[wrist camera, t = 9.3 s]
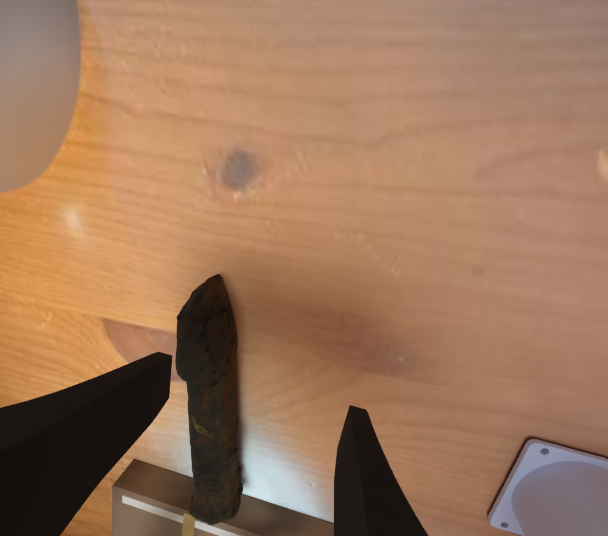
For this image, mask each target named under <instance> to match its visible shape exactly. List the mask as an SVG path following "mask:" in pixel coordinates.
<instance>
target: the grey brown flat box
mask: <svg viewBox="0 0 608 536" xmlns="http://www.w3.org/2000/svg"><path fill="white" fill-rule="evenodd" d="M193 494H194V484H193V478H190V477H187V476H184V475H181V474H178V473H175V472H172V471H169V470H166V469H163V468H159V467H156V466H153V465H150V464H147V463H144V462H141V461H138V460H135V459H134V460H133V461H132V462H131V464H130V465H129V466H128V467H127V468H126V470H125V471H124V472H123V473H122V475H121V476H120V477H119V478H118V479H117V481H116V482H115V483H114V484H113V486H112V536H334V524H332V523H329V522H326V521H323V520H320V519H317V518H314V517H311V516H308V515H305V514H302V513H298V512H295V511H292V510H289V509H286V508H283V507H280V506H277V505H274V504H271V503H268V502H264V501H261V500H258V499H255V498H252V497H249V496H246V495H243V494H241V497H240V498H241V504H240V508H239V510H238V512H237V514H236V516H235V518H233V519H229V520H226V521H223V522H220V523H218V524H215V525H208V524H207V523H206V522H202V521H200V520H198V519H196V518H194V517H192V515H191V514H190V513H189V511H190V504H191V498H192V496H193Z"/></svg>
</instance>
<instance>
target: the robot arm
mask: <svg viewBox="0 0 608 536" xmlns="http://www.w3.org/2000/svg"><path fill="white" fill-rule="evenodd" d="M171 366H172V355H168V354H165V353H161V352H156V353H154V354H151V355H148V356H146V357H144V358H141V359H139V360H136V361H134V362H132V363H129V364H127V365H125V366H122V367H120V368H117V369H115V370H113V371H110V372H108V373H105V374H103V375H101V376H98V377H95V378H93V379H90V380H87V381H85V382H82V383H79V384H77V385H74V386H71V387H69V388H66V389H63V390H60V391H57V392H54V393H51V394H48V395H45V396H42V397H38V398H35V399H32V400H28V401H25V402H21V403H18V404H14V405H10V406H6V407H2V408H0V536H60V535H61V534H62V532H63V531H64V529H65V528H66V527H67V525H68V524H69V522H70V521H71V520H72V518H73V517H74V516H75V514H76V513H77V512H78V510H79V509H80V508H81V506H82V505H83V504H84V502H85V501H86V500H87V498H88V497H89V496H90V494H91V493H92V492H93V490H94V489H95V488H96V487H97V485H98V484H99V483H100V482H101V480H102V479H103V478H104V477H105V476H106V474H107V473H108V472H109V471H110V470H111V469H112V468H113V467H114V465H115V464H116V463H117V462H118V461H119V460H120V459H121V457H122V456H123V455H124V454H125V453H126V452H127V451H128V449H129V448H130V447H131V446H132V445H133V444H134V443H135V442H136V440H137V439H138V438H139V437H140V436H141V435H142V433H143V432H144V431H145V430H146V429H147V428H148V427H149V425H150V424H151V423H152V422H153V420H154V419H155V418H156V416H157V415H158V413H159V412H160V411H161V409H162V408H163V406H164V405H165V403H166V402H167V400H168V399H169V393H170V379H171ZM544 448H545V449H544ZM542 449H543V450H542ZM488 520H489V522H490V524H491V525H492V526H493V527H496V528H499V529H502V530H506V531H509V532H512V533H515V534H519V535H522V536H608V459H607V458H603V457H600V456H596V455H592V454H589V453H585V452H581V451H578V450H574V449H570V448H567V447H563V446H559V445H556V444H552V443H548V442H545V441H541V440H537V439H530V440H528V441H527V442H526V444H525V446H524V448H523V450H522V452H521V454H520V455H519V457H518V459H517V461H516V463H515V465H514V467H513V469H512V471H511V473H510V475H509V477H508V479H507V480H506V482H505V484H504V486H503V488H502V490H501V492H500V494H499V496H498V498H497V500H496V502H495V504H494V505H493V507H492V509H491V511H490V513H489V515H488ZM334 536H428V534H427V533H426V531H425V530H424V528H423V526H422V525H421V523H420V521H419V520H418V518H417V516H416V515H415V513H414V511H413V510H412V508H411V506H410V504H409V503H408V501H407V499H406V497H405V495H404V493H403V492H402V490H401V488H400V486H399V484H398V482H397V480H396V478H395V476H394V474H393V472H392V470H391V468H390V466H389V463H388V461H387V459H386V457H385V455H384V452H383V450H382V448H381V446H380V443H379V441H378V438H377V436H376V433H375V431H374V428H373V426H372V423H371V420H370V417H369V414H368V412H367V411H366V410H365V409H362V408H358V407H355V406H351V405H350V406H349V410H348V413H347V416H346V420H345V423H344V427H343V430H342V434H341V437H340V441H339V444H338V448H337V457H336V466H335V476H334Z"/></svg>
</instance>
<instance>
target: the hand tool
mask: <svg viewBox="0 0 608 536" xmlns="http://www.w3.org/2000/svg"><path fill="white" fill-rule="evenodd" d="M236 347H237V332H236V326H235V321H234V317H233V313H232V309H231V305H230V301H229V298H228V295H227V292H226V289H225V287H224V284H223V280H222V278H221V276H220V275H219V274H217V275H215V276H213V277H210V278H208V279H207V280H206V281H205V282H204V283H203V284H201V285H200V286H199V287H198V288H197V289H195V290H194V291H193V292H192V294H191V296H190V298H189V300H188V301H187V302H186V304H185V305H184V306H183V308H182V310H181V311H180V313H179V314H178V316H177V350H176V370H177V374H178V375H179V376H180V377H181V378H182V379H183V381H186V383H187V391H188V415H189V433H190V445H191V459H192V471H193V484H194V494H193V496H192V498H191V504H190V511H189V513H190V514H191V515H192V517H194V518H196V519H198V520H200V521H202V522H206V523H207V524H208V525H215V524H218V523H220V522H223V521H226V520H229V519H233V518H235V516H236V514H237V512H238V510H239V508H240V504H241V498H240V497H241V494H242V492H243V483H242V482H241V481H240V478H241V475H240V474H241V468H240V467H239V466H238V447H237V437H236V430H237V422H238V420H237V418H236V402H235V368H234V360H235V352H236Z"/></svg>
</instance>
